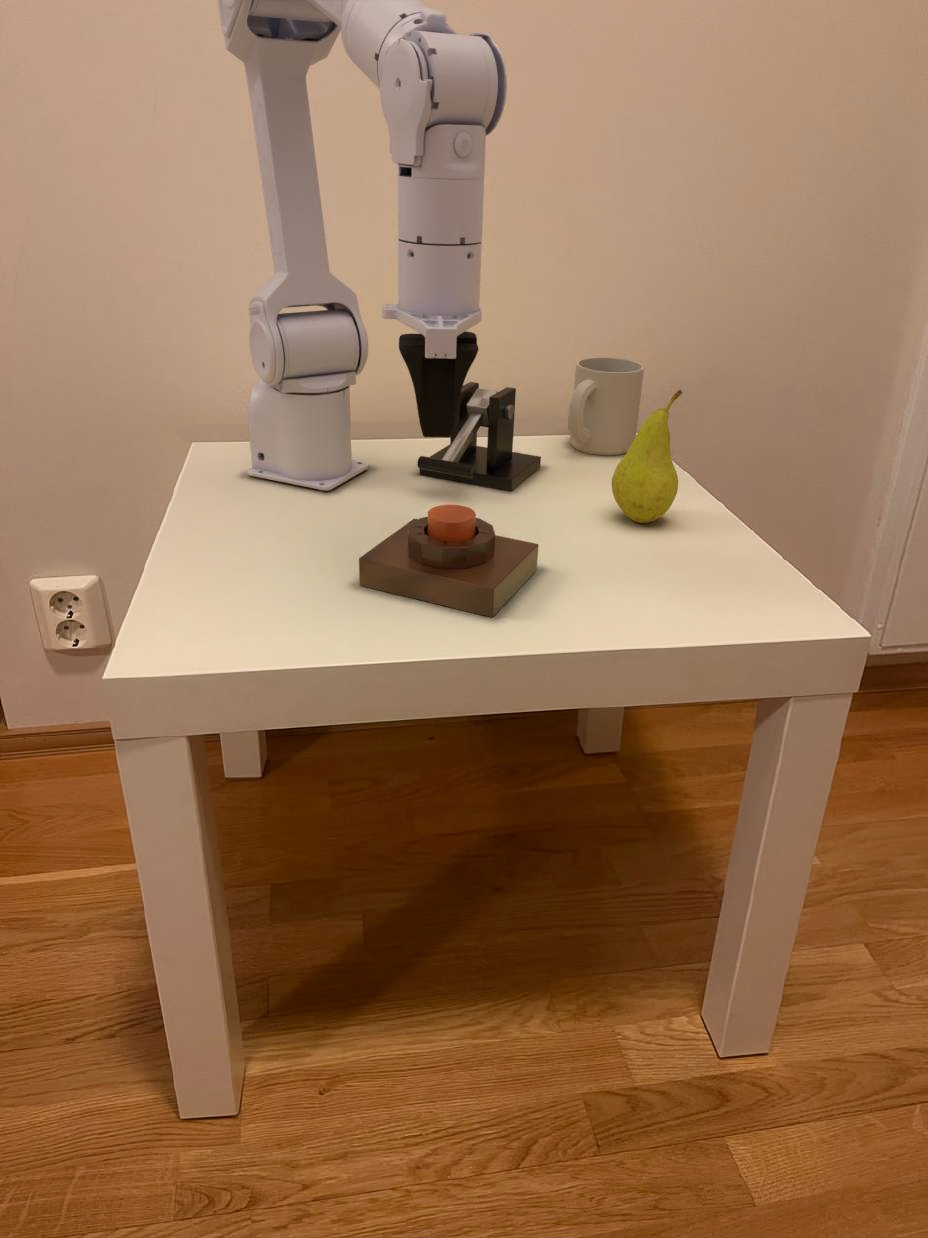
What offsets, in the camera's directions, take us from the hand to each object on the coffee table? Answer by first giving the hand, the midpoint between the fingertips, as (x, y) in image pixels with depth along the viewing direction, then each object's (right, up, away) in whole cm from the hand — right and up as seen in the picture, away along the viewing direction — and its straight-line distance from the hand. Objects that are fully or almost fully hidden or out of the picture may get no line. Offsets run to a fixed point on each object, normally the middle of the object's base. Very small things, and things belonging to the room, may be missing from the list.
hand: (436, 434), depth 68 cm
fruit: (+18, -5, +14) cm, 23 cm away
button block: (+1, -11, +2) cm, 11 cm away
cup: (+16, +5, +32) cm, 36 cm away
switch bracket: (+4, +1, +24) cm, 24 cm away
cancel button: (+1, -8, 0) cm, 8 cm away
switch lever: (+2, +3, +20) cm, 20 cm away
